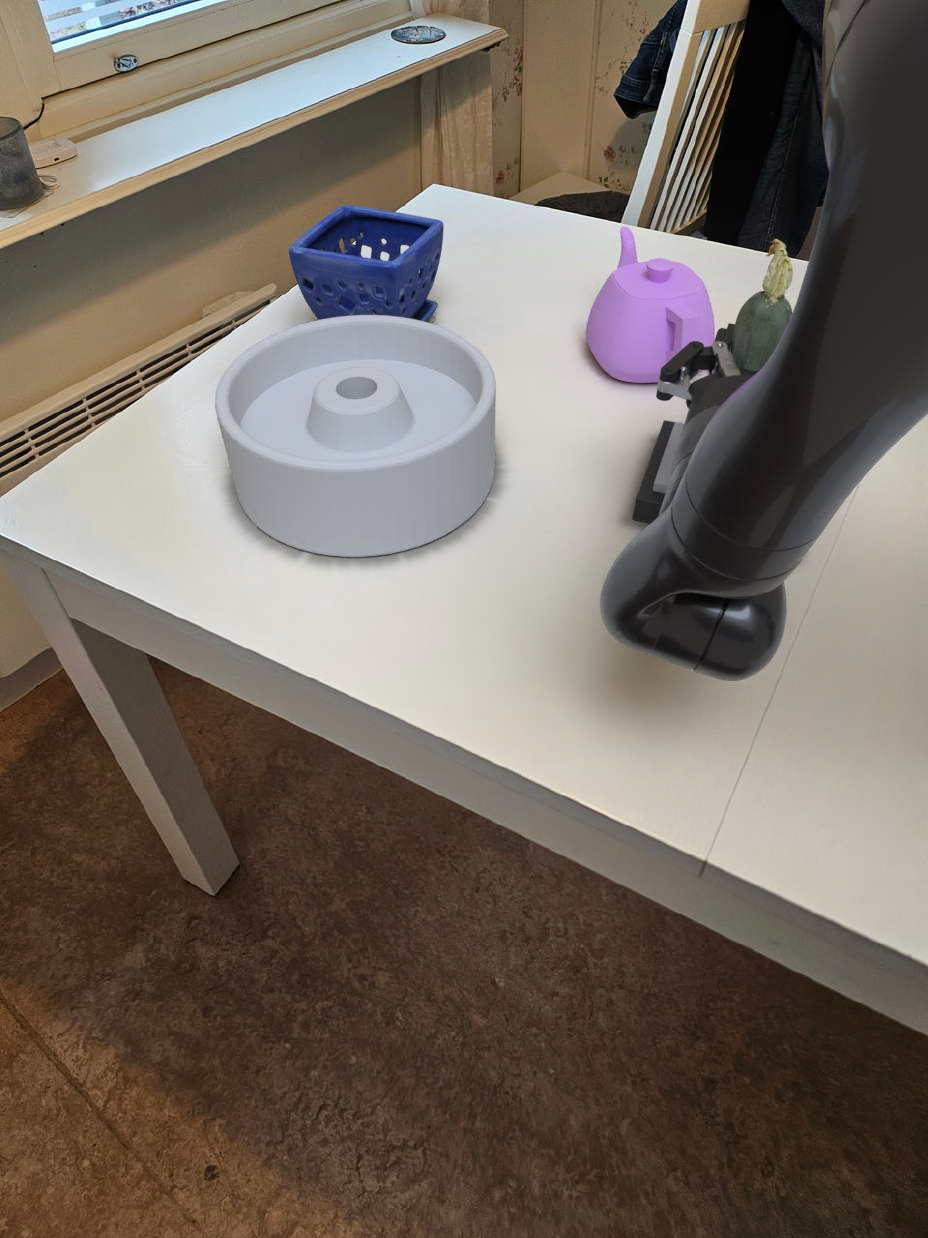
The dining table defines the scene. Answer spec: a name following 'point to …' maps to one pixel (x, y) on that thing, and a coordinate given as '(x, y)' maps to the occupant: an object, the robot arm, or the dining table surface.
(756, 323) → the vegetable
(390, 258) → the flower pot
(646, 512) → the scale
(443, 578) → the dining table surface
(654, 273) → the teapot
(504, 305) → the dining table surface
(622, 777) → the dining table surface
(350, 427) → the container
